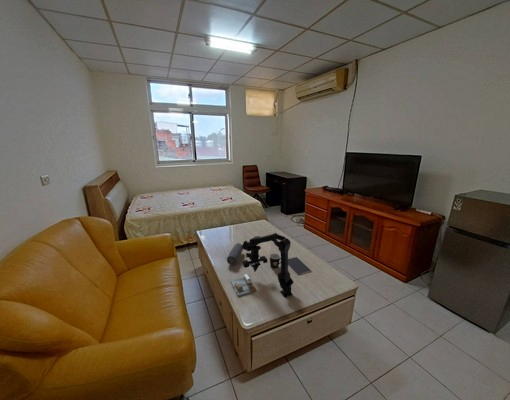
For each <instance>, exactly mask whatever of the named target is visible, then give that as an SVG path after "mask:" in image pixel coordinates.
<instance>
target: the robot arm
mask: <svg viewBox="0 0 510 400" xmlns="http://www.w3.org/2000/svg"><path fill="white" fill-rule="evenodd" d="M271 241H272V242H273V243H274V246H276V247H277V248H278V249H277V250H278V251H279V252H280V258H281V259H280V262H281V263H280V272H278V274H277V280H278V283H279V286H280V289H281V290H280V291H279V292H280V294H281V295H282V296H283V297H284V298H288V297H291V296H293V295H294V294H293V292H292V285H294V283H295V282H294V280H293V278H292V277H291V274H290V271H289V265H288V259H289V250H290V248H291V244H292V243H291V240H289V238H288V237H285V236H284V235H281V234H278V233H276V232H275V233H272V234H271V233H270V234H267V235H262V236H259V235H256V236H254V237H252V238H250V239H249V241H247V240H244V241H243V243H242V244H241V245H242V249H243V250H245V251H247V252H245V256H246V258H249V260H248V259H244V260H242V261H241V265H242V267H243V268H244V269H246V268H249V267H251V268H252V269H253V271H254V273H255V272H257V270H258V269H259V268H260V266H261V265H262V264H261V262H262V263H263V264H265V263H267V264H268V258H267V257H266V256H265V255H262V256H260V253H259V251H260V250H261V249H262V247H261V246H260V245H259V244H263V243H267V242H271Z"/></svg>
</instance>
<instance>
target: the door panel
mask: <svg viewBox="0 0 510 400" xmlns="http://www.w3.org/2000/svg"><path fill="white" fill-rule="evenodd" d="M230 284H231V286H232V288H233V290H234V292H235V294H236V296H237V298H239V297H242V296H245V295H248V294H252V293H255V292H258V289H257V288H256V286H255V285H254V283H253V281H252V280H251V285H248V284H247V282H246V280H245V278H244V277H242V278H238V279H234V280H230Z"/></svg>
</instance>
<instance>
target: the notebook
mask: <svg viewBox="0 0 510 400" xmlns="http://www.w3.org/2000/svg"><path fill="white" fill-rule="evenodd" d="M288 268H290V269H291V270H292V271H293V272H294V273H295V274H296V275H297V276H298V275H303V274H306V273H309V272H312V270H311V269H310V268H309V267H308V266H307V265H306V264H305V263H304V262H303V261H302V260H301V259H300V258H299V257H297V256H296V257H292V258H288Z"/></svg>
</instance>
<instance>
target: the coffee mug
mask: <svg viewBox="0 0 510 400" xmlns="http://www.w3.org/2000/svg"><path fill="white" fill-rule="evenodd" d="M268 257H269V263H270V264H269V266H270V268H271V269H273V270H277V269H279V265H281V254H278V253H270V254H269V256H268Z"/></svg>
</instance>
